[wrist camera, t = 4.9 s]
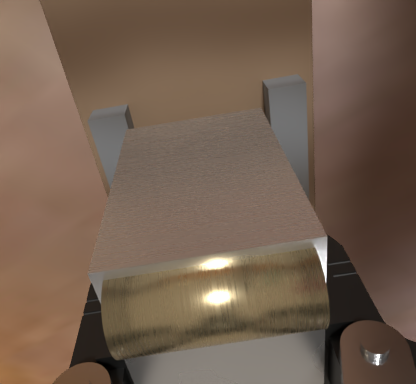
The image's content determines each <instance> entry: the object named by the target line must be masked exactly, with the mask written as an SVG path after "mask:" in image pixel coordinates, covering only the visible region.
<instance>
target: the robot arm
mask: <svg viewBox="0 0 416 384" xmlns="http://www.w3.org/2000/svg"><path fill="white" fill-rule="evenodd" d="M326 285H327V291H328V297H329V306H330V323H329V326H328V328H327V329H325V358H324V384H416V342H413V341H410V340H408V339H406V338H404V337H403V336H402V335H401V334H400V333H399V332H398V331H397V330H395V329H394V328H393V327H391V326H389V325H387V324H386V323H385V322H384V321H383V319H382V318H381V316H380V314H379V312H378V310H377V308H376V307H375V305H374V303H373V301H372V299H371V297H370V296H369V294H368V292H367V290H366V288H365V287H364V285H363V283H362V281H361V279H360V277H359V276H358V274H357V273H356V270H355V268H354V266H353V265H352V263H350V259H349V257H348V255H347V254H346V252H345V250H344V248H343V246H342V245H340V244H339V243H338V242H337V241H335V240H334V239H333V238H331V237H330V236H329V235H327V274H326ZM83 313H84V316H82V320H81V324H80V328H79V332H78V336H77V340H76V344H75V348H74V352H73V356H72V360H71V364H70V367H69V369H67V370H66V371H65V372H63V373H62V374H61V375H60V376H59V377H58V378H57V379H56V380H55V381H54V383H53V384H134V382H133V379H132V377H131V375H130V372H129V370H128V368H127V365H126V363H125V361H124V359H123V360H115V359H114V358H113V357H112V355H111V353H110V351H109V349H108V346H107V343H106V339H105V335H104V330H103V324H102V314H101V304H100V301H99V299H98V297H97V294H96V292H95V290H94V287H93V285H92V283H91V285H90V288H89V292H88V296H87V303H86V304H85V308H84V312H83Z"/></svg>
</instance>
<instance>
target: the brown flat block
mask: <svg viewBox="0 0 416 384" xmlns="http://www.w3.org/2000/svg"><path fill="white" fill-rule="evenodd" d="M40 3H41V6H42V8H43V11H44V14H45V17H46V20H47V23H48V26H49V29H50V32H51V34H52V37H53V40H54V43H55V46H56V49H57V52H58V55H59V57H60V60H61V63H62V66H63V69H64V72H65V75H66V78H67V81H68V83H69V86H70V89H71V92H72V95H73V98H74V101H75V104H76V107H77V109H78V112H79V115H80V118H81V121H82V124H83V127H84V130H85V132H86V135H87V138H88V141H89V144H90V147H91V150H92V153H93V156H94V158H95V161H96V164H97V167H98V170H99V173H100V176H101V179H102V181H103V184H104V187H105V190H106V193H107V196H109V193H110V189H111V185H112V181H113V178H114V174H115V170H116V166H117V163H118V159H119V155H120V152H121V148H122V144H123V140H124V137H125V133H126V130H127V129H134V128H140V127H146V126H152V125H158V124H164V123H170V122H177V121H183V120H189V119H195V118H201V117H207V116H213V115H220V114H226V113H232V112H238V111H244V110H250V109H257V108H262V110H263V112H264V114H265V116H266V118H267V120H268V122H269V124H270V126H271V128H272V130H273V132H274V134H275V136H276V138H277V140H278V141H279V143H280V145H281V147H282V149H283V151H284V153H285V155H286V157H287V159H288V161H289V163H290V165H291V167H292V169H293V171H294V173H295V174H296V176H297V178H298V180H299V182H300V184H301V186H302V188H303V190H304V192H305V194H306V196H307V198H308V200H309V202H310V204H311V206H312V207H313V209H314V211H315V176H314V116H313V56H312V0H40Z"/></svg>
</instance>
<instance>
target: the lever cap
mask: <svg viewBox="0 0 416 384" xmlns="http://www.w3.org/2000/svg"><path fill="white" fill-rule="evenodd" d="M326 274H327V235H326V233H325V231H324V229H323V227H322V225H321V223H320V221H319V219H318V217H317V215H316V213H315V211H314V209H313V207H312V206H311V204H310V202H309V200H308V198H307V196H306V194H305V192H304V190H303V188H302V186H301V184H300V182H299V180H298V178H297V176H296V174H295V173H294V171H293V169H292V167H291V165H290V163H289V161H288V159H287V157H286V155H285V153H284V151H283V149H282V147H281V145H280V143H279V141H278V140H277V138H276V136H275V134H274V132H273V130H272V128H271V126H270V124H269V122H268V120H267V118H266V116H265V114H264V112H263V110H262V108H257V109H250V110H244V111H238V112H232V113H226V114H220V115H213V116H207V117H201V118H195V119H189V120H183V121H177V122H170V123H164V124H158V125H152V126H146V127H140V128H134V129H127V130H126V133H125V137H124V140H123V144H122V148H121V152H120V155H119V159H118V163H117V166H116V170H115V174H114V178H113V181H112V185H111V189H110V193H109V196H108V200H107V204H106V208H105V211H104V215H103V219H102V222H101V226H100V230H99V234H98V237H97V241H96V245H95V249H94V252H93V256H92V260H91V263H90V267H89V271H88V275H89V278H90V280H91V283H92V285H93V287H94V290H95V292H96V294H97V297H98V299H99V301H100V304H101V314H102V324H103V330H104V335H105V339H106V343H107V346H108V349H109V351H110V353H111V355H112V357H113V358H114V359H115V360H123V359H124V361H125V363H126V365H127V368H128V370H129V372H130V375H131V377H132V379H133V382H134V384H324V358H325V329H327V328H328V326H329V323H330V306H329V297H328V291H327V285H326Z"/></svg>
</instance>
